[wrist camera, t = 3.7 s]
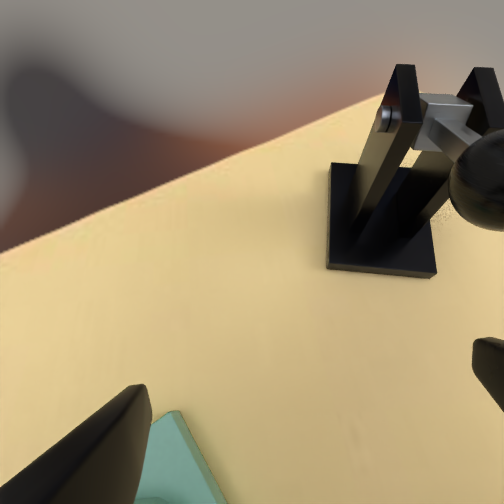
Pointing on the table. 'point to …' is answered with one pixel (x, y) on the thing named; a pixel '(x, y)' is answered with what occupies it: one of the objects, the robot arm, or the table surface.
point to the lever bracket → (399, 182)
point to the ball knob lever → (465, 159)
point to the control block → (175, 467)
